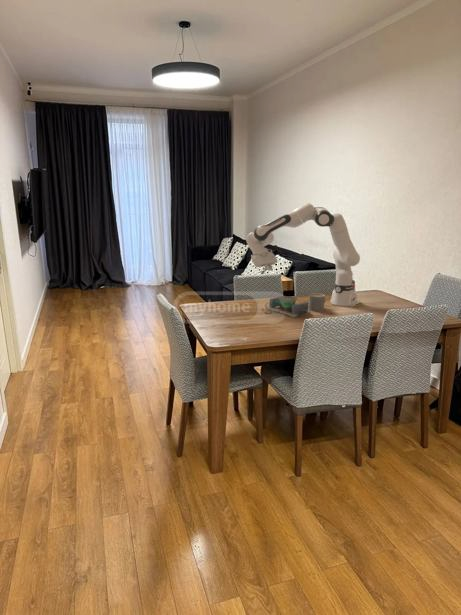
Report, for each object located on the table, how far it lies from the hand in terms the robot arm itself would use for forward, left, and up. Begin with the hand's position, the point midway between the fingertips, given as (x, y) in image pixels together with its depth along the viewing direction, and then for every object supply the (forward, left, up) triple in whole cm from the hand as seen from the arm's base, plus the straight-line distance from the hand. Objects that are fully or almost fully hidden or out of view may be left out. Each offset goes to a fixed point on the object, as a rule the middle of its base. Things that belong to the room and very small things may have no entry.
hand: (270, 270), depth 294 cm
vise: (0, +17, -24) cm, 30 cm away
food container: (+2, +18, -25) cm, 31 cm away
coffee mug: (-19, +27, -25) cm, 41 cm away
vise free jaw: (0, +8, -23) cm, 24 cm away
